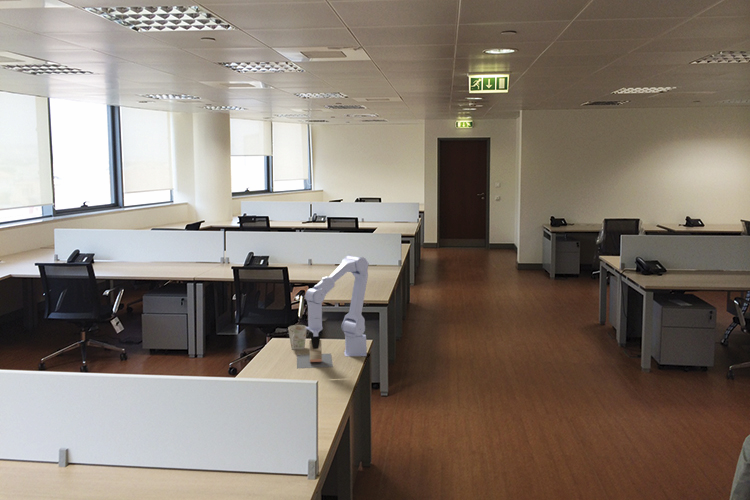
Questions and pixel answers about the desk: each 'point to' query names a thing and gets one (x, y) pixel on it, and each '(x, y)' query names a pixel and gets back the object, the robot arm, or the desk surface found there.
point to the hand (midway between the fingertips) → (315, 348)
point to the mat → (304, 362)
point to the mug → (297, 336)
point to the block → (315, 353)
